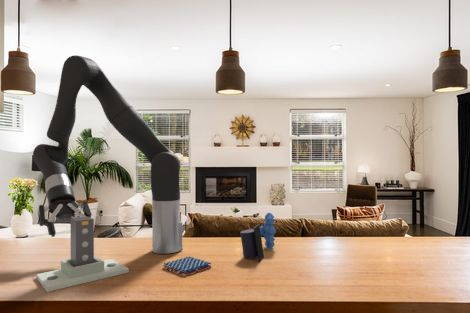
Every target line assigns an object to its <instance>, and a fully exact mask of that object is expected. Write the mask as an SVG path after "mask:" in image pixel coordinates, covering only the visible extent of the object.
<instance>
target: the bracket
mask: <svg viewBox="0 0 470 313" xmlns="http://www.w3.org/2000/svg"><path fill="white" fill-rule="evenodd" d="M129 271H130V270H129V268H128V267H126V266H125V265H123V264H122V263H120V262H118V261H117V260H115V259H114V258H109V259H105V260H103V259H102V258H101V259H100V258H99V257H98V256H96V255H95V254H94V263H91V264H86V265H81V266H76V267H73V266H71V258H67V259H63V260H60V269H56V270H50V271H46V272H41V273H40V272H39V273H36V279H37V280H38V282H39V283H40V285H41V286H42V287H43V289H44V290H45V292H46V293H48V292H51V291H57V290H61V289H66V288H69V287H74V286H78V285H81V284H86V283H90V282H94V281H99V280H103V279H107V278H111V277H115V276H119V275H120V276H121V275H123V274H127V273H130V272H129Z"/></svg>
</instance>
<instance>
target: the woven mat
mask: <svg viewBox="0 0 470 313" xmlns="http://www.w3.org/2000/svg"><path fill="white" fill-rule="evenodd" d="M162 266H163V267H162V269H161V270H166V271H167V272H168V270H169V272H172V273H175V274H177V275H179V276H182V277H188V276H190V275H192V274H193V275H194V274H196V273H199V272H202V271H205V270H207V268H208V269H210V268H212V262H209V261H207V260H206V261H205V260H203V259H199V258H196V257H192V256H186V257H184V258H183V257H182V258H180V259H176V260H175V259H173V260H172V261H168V262H164V263H163V265H162ZM167 269H168V270H167ZM204 269H205V270H204Z"/></svg>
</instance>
